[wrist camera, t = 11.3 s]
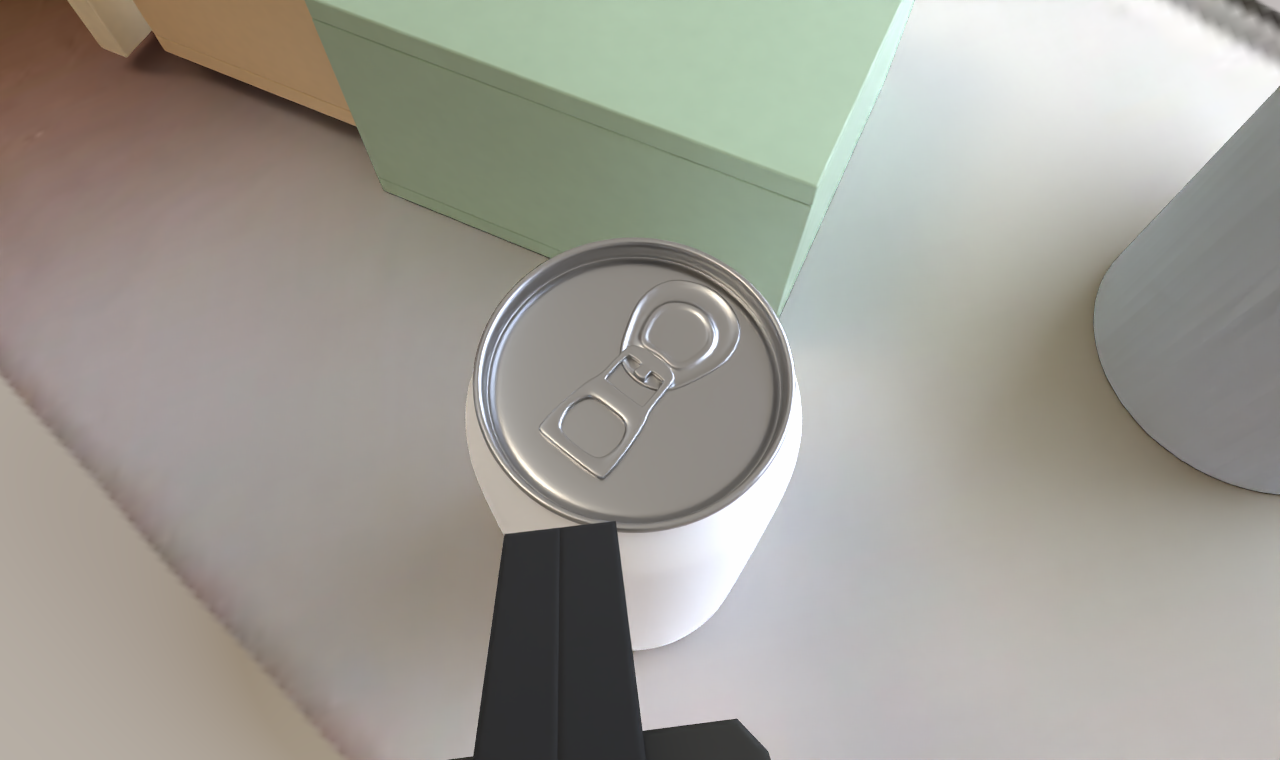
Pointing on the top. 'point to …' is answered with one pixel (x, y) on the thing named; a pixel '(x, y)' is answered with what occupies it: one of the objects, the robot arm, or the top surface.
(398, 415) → the top surface
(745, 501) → the can
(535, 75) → the cabinet
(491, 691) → the robot arm
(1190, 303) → the coffee mug
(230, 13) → the drawer
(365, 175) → the top surface
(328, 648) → the top surface
